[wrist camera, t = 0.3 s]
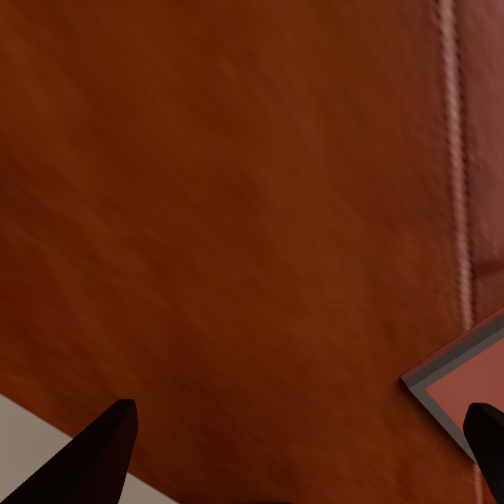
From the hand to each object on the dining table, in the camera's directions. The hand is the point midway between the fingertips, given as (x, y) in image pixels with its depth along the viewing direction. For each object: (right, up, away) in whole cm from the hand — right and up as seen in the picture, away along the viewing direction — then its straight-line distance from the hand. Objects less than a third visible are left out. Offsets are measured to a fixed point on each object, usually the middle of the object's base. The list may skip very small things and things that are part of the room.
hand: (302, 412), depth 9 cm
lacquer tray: (+19, -6, +17) cm, 26 cm away
